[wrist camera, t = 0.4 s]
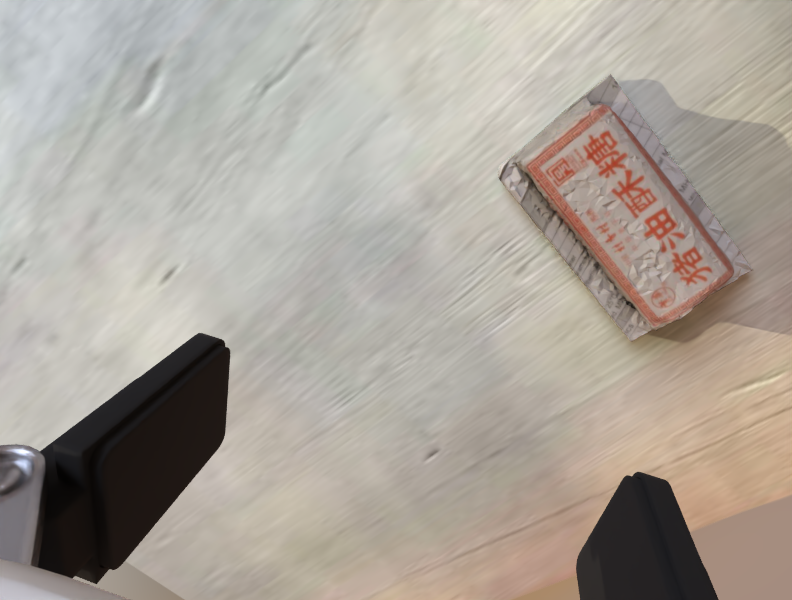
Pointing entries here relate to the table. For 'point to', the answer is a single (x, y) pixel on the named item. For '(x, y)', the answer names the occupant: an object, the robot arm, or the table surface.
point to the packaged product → (622, 212)
